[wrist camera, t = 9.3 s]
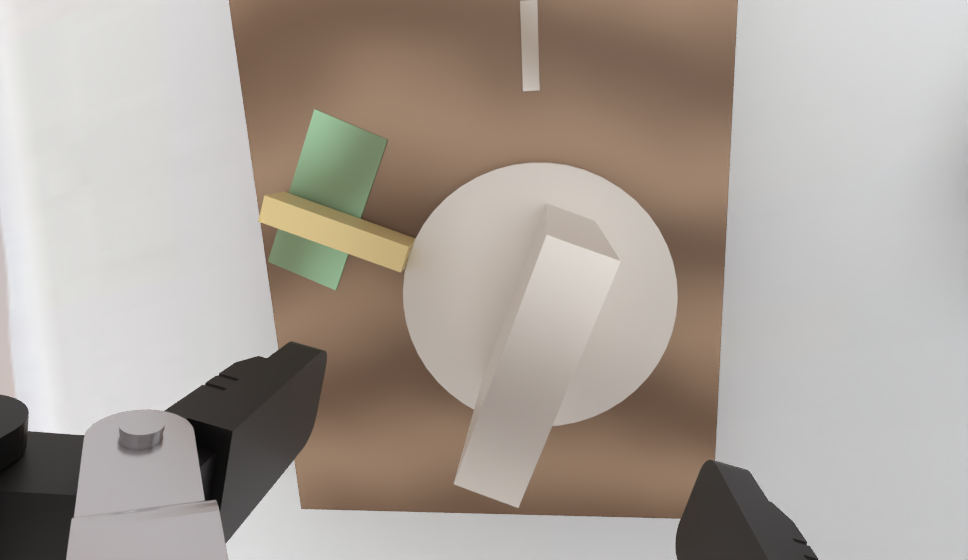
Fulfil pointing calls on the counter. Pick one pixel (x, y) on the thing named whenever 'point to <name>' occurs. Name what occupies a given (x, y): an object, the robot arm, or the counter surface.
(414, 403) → the dial board
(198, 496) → the robot arm
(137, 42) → the counter surface
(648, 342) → the dial knob
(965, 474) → the counter surface
